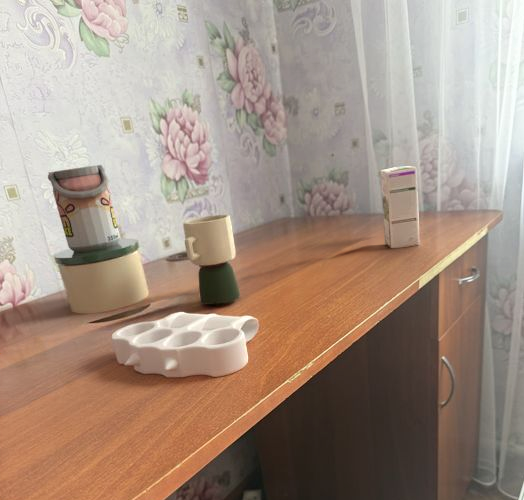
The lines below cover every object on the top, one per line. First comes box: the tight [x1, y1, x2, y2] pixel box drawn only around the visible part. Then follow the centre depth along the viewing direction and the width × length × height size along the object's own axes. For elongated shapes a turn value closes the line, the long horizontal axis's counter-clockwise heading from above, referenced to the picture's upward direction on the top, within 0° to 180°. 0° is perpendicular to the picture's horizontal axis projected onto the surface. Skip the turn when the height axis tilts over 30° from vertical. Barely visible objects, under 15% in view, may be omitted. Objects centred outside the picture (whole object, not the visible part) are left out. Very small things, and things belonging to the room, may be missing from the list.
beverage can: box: [47, 164, 121, 252], centre depth 77 cm, size 9×8×12 cm
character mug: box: [182, 214, 241, 306], centre depth 76 cm, size 11×7×13 cm, turn 148°
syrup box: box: [380, 165, 420, 249], centre depth 96 cm, size 6×6×14 cm
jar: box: [53, 238, 151, 324], centre depth 81 cm, size 13×13×10 cm
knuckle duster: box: [110, 311, 260, 379], centre depth 59 cm, size 3×18×15 cm
